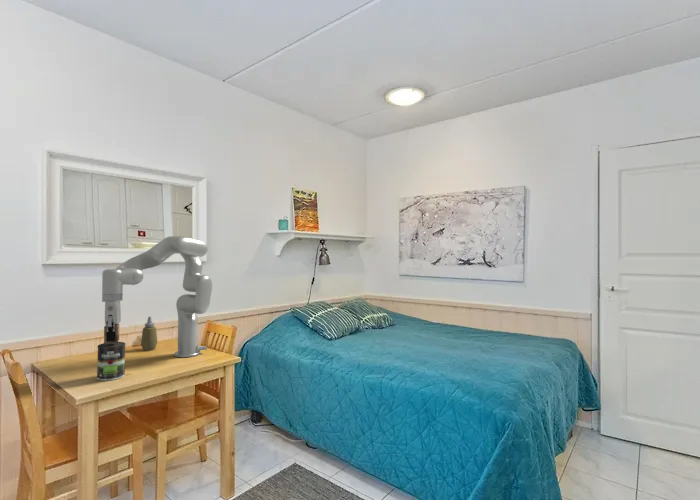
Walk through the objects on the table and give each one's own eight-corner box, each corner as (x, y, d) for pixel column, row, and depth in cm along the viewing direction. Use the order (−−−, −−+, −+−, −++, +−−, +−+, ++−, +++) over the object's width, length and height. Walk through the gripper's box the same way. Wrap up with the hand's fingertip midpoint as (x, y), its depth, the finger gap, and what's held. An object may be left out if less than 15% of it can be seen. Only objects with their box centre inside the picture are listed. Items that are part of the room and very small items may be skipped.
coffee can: (124, 378, 163) (124, 345, 163) (95, 382, 159) (95, 348, 159) (125, 371, 173) (126, 340, 173) (98, 375, 168) (98, 342, 168)
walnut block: (119, 339, 169) (119, 323, 169) (117, 342, 164) (117, 325, 164) (105, 340, 167) (106, 324, 167) (103, 343, 162) (104, 326, 162)
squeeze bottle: (144, 347, 214) (145, 315, 214) (159, 347, 215) (160, 315, 215) (138, 351, 206) (138, 318, 206) (153, 351, 207) (154, 318, 207)
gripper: (119, 299, 159) (119, 343, 159) (124, 294, 175) (124, 334, 175) (98, 300, 156) (97, 345, 156) (105, 295, 172) (105, 336, 172)
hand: (111, 339), depth 166 cm, fingers closed on walnut block, 4 cm apart
